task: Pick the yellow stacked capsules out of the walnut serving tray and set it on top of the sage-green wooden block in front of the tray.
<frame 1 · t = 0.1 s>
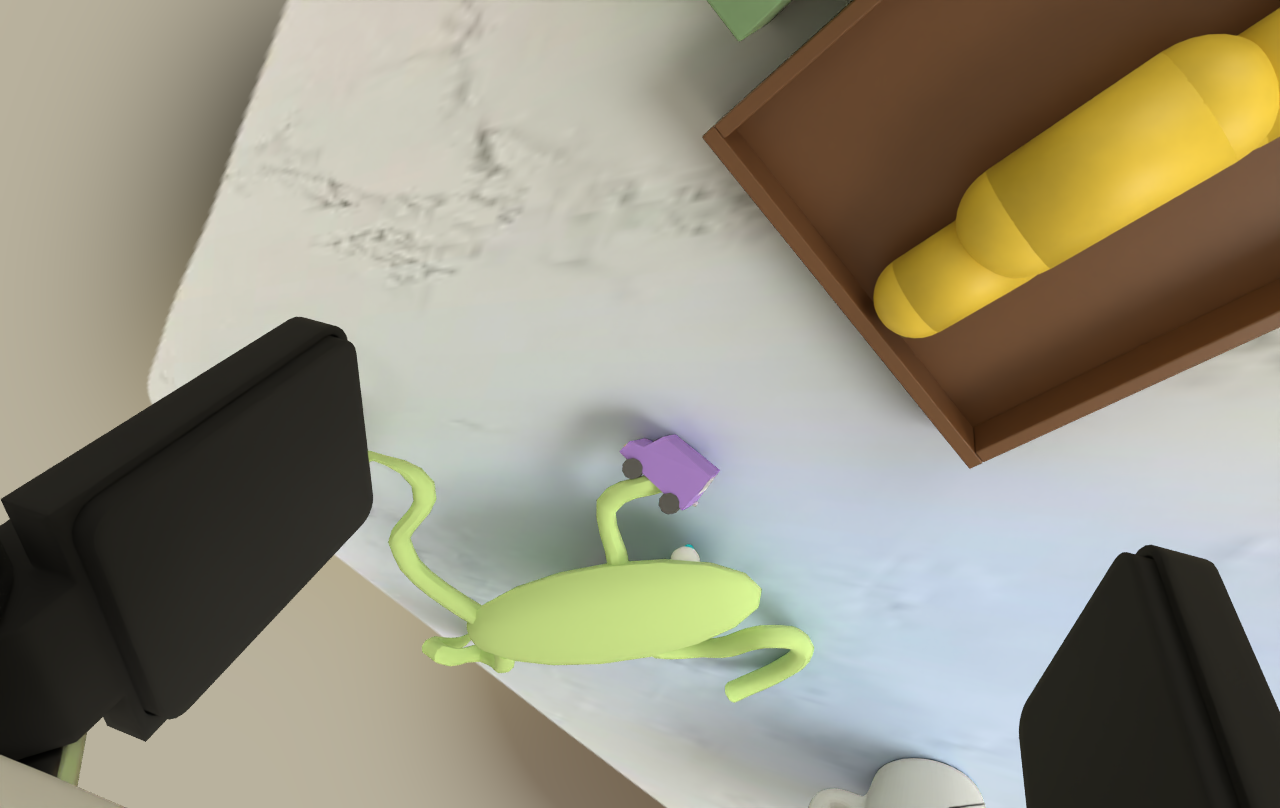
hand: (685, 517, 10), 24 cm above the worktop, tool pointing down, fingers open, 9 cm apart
yellow stacked capsules: (1084, 140, 26), point 1 cm above the worktop, tilted 15°, touching tray
tray: (1080, 134, 27), on the worktop
figurine: (571, 546, 46), on the worktop
mug: (900, 781, 47), on the worktop
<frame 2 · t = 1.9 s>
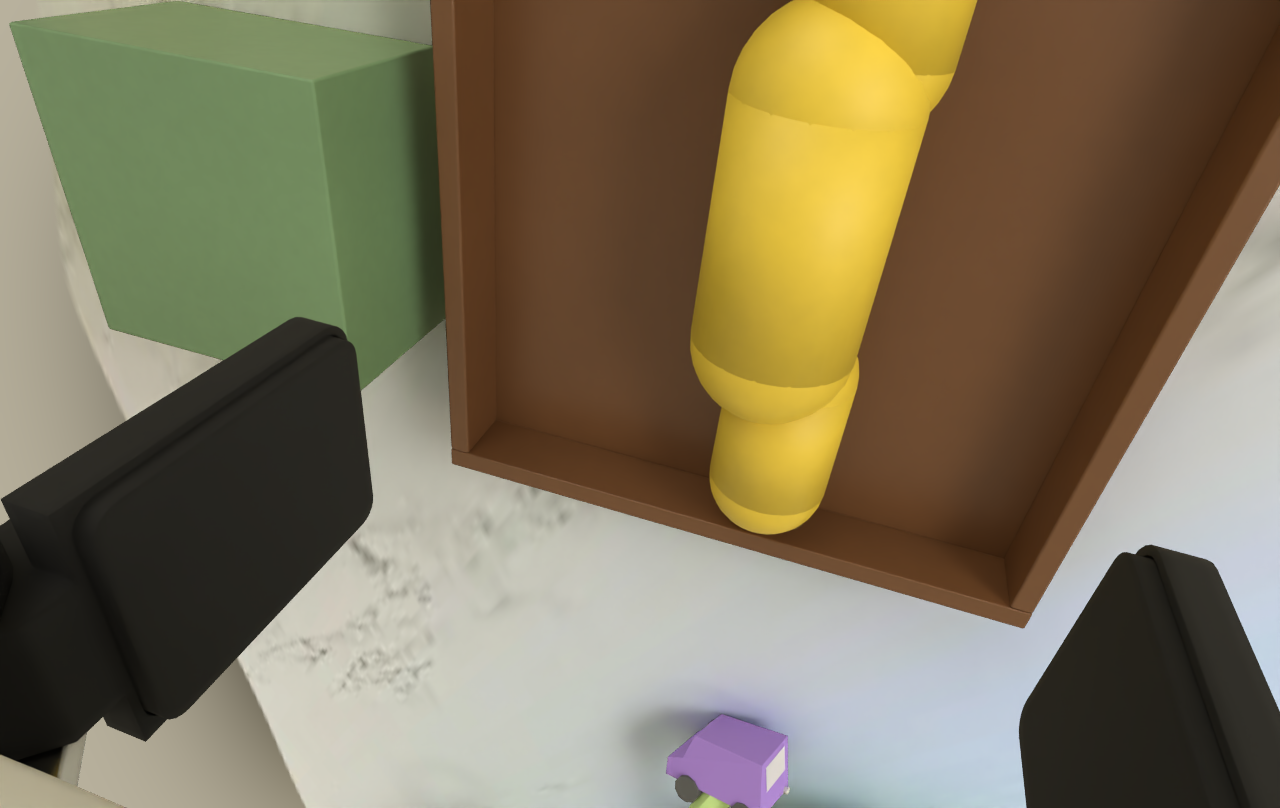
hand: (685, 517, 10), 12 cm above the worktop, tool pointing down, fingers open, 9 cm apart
yellow stacked capsules: (796, 203, 19), point 1 cm above the worktop, tilted 8°, touching tray
tray: (799, 195, 19), on the worktop
block: (321, 169, 23), on the worktop
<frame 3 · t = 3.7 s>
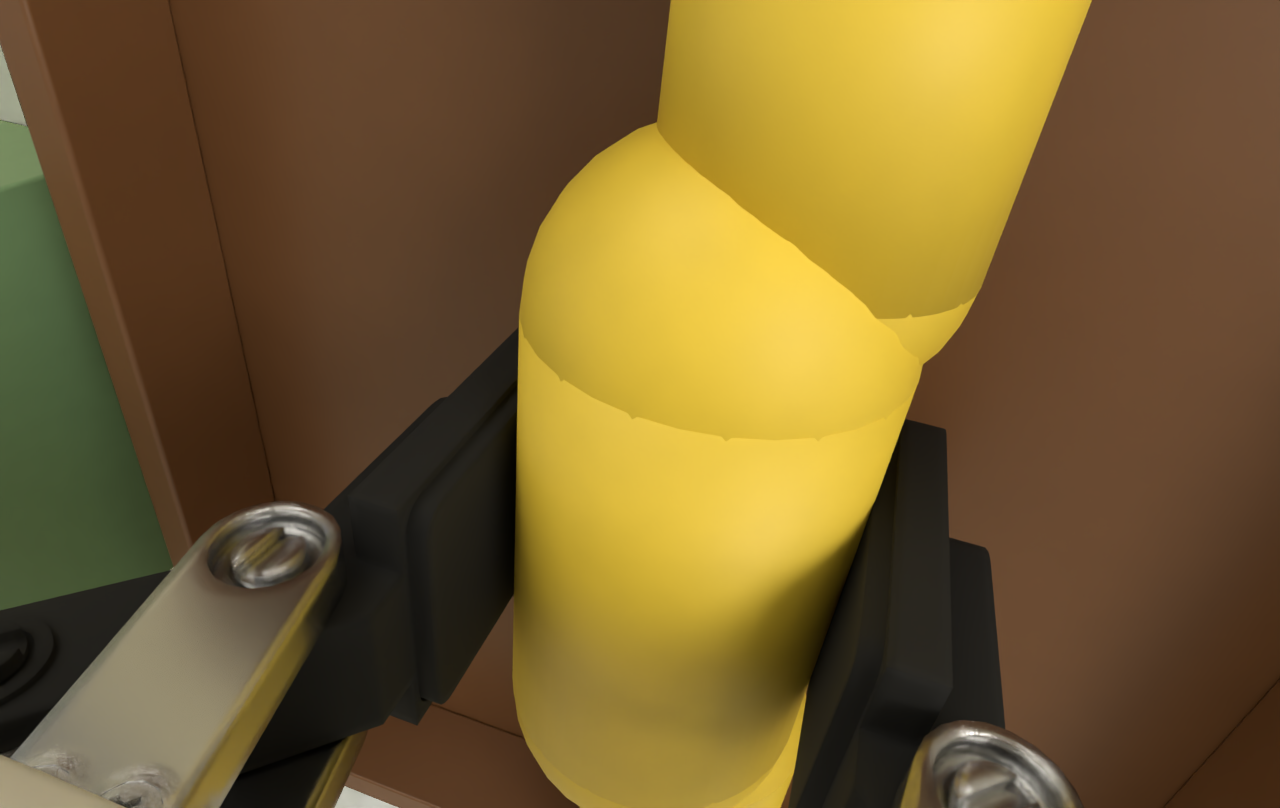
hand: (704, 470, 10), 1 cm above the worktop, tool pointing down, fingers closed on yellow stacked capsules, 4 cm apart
yellow stacked capsules: (710, 433, 11), point 1 cm above the worktop, touching gripper, tray
tray: (720, 410, 11), on the worktop
block: (21, 314, 15), on the worktop
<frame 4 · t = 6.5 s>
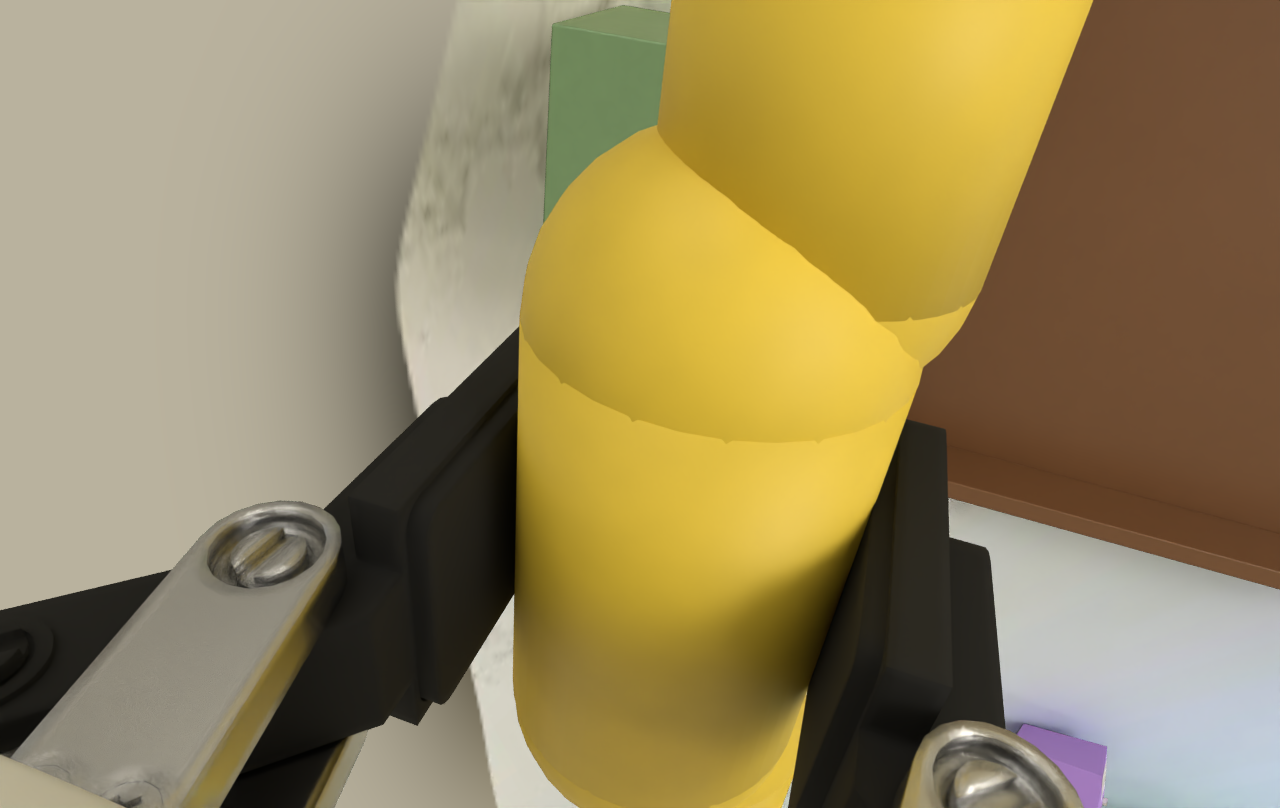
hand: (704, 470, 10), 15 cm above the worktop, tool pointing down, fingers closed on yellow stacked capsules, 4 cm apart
yellow stacked capsules: (711, 434, 11), point 14 cm above the worktop, touching gripper
block: (733, 172, 23), on the worktop
when the fingers open (6 cm above the worktop, at t = 9.3 s): yellow stacked capsules stays where it is, resting on block.
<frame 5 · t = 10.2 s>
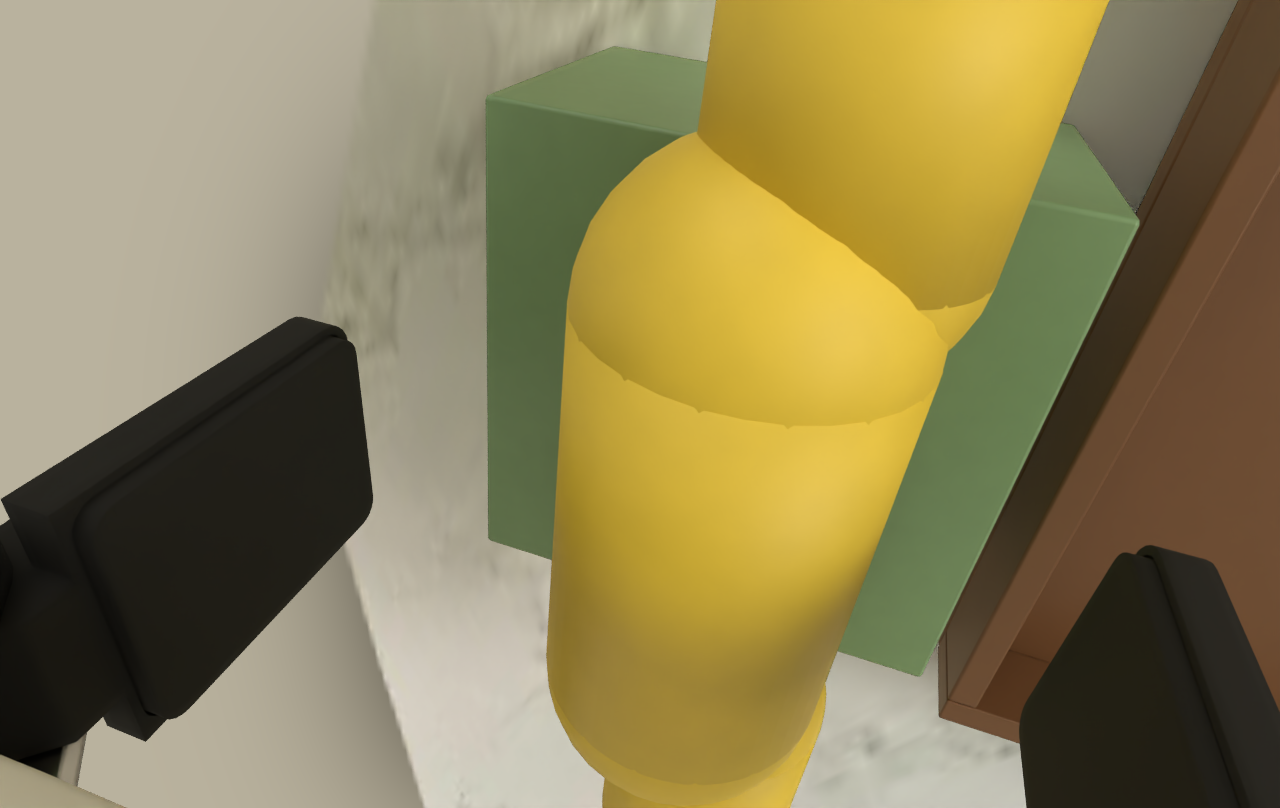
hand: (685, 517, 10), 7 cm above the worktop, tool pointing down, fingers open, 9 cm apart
yellow stacked capsules: (724, 424, 12), point 5 cm above the worktop, tilted 8°, touching block
block: (782, 292, 16), on the worktop
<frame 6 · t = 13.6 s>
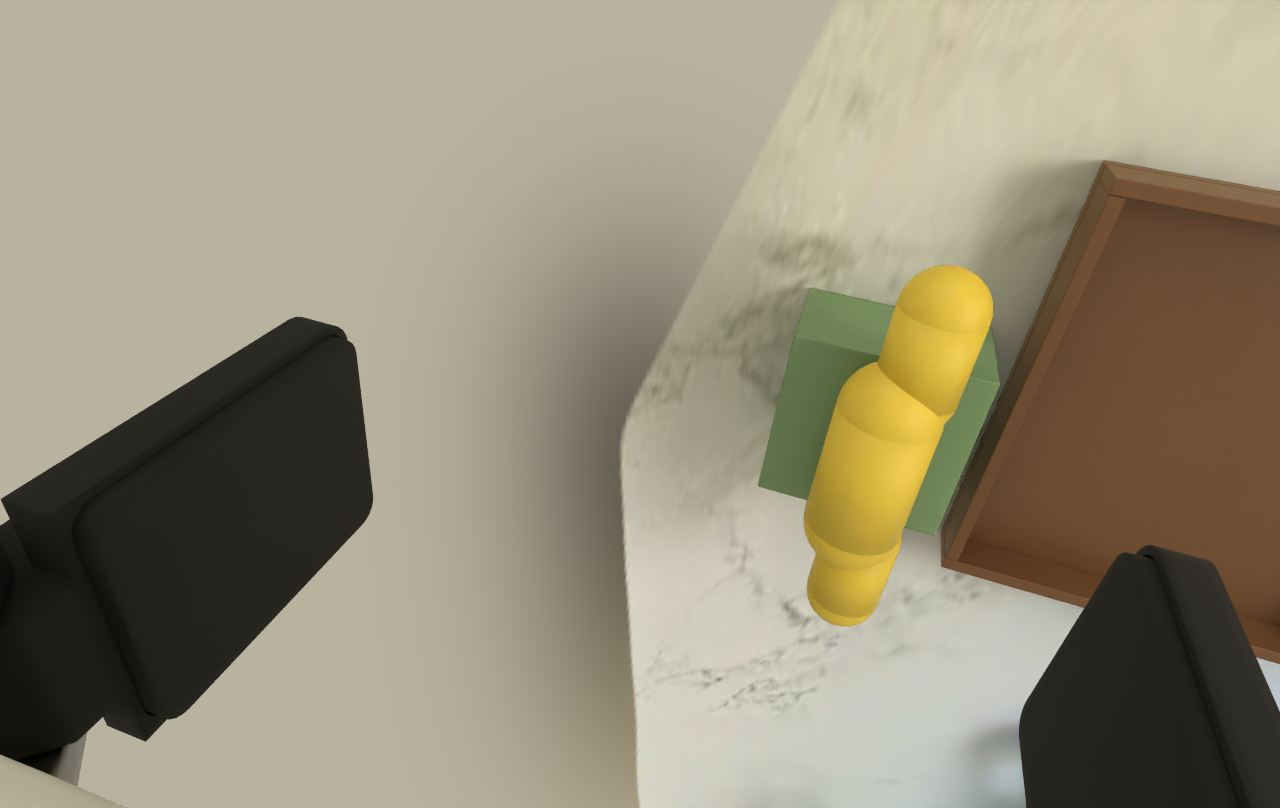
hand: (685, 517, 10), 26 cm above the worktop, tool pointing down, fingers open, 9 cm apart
yellow stacked capsules: (865, 440, 33), point 5 cm above the worktop, tilted 8°, touching block
tray: (1220, 424, 33), on the worktop
block: (874, 382, 37), on the worktop
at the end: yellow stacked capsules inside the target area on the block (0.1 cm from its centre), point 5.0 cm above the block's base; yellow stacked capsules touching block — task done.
